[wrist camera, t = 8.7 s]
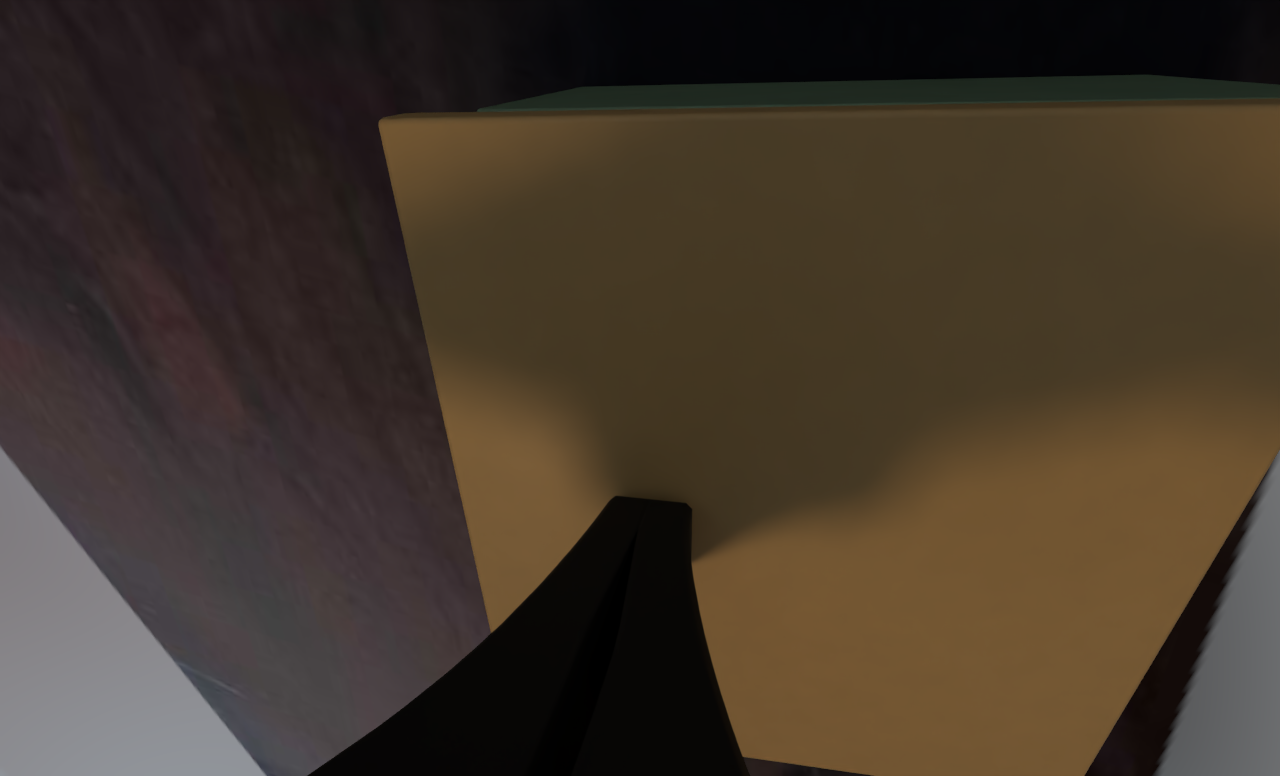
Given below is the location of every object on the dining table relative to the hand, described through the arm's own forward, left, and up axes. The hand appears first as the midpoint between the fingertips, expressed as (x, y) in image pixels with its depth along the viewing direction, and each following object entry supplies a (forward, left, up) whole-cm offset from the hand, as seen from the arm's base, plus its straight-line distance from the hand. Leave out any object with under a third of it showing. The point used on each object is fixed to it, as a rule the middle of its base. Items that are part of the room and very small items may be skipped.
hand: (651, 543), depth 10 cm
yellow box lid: (-3, 0, -1) cm, 3 cm away
